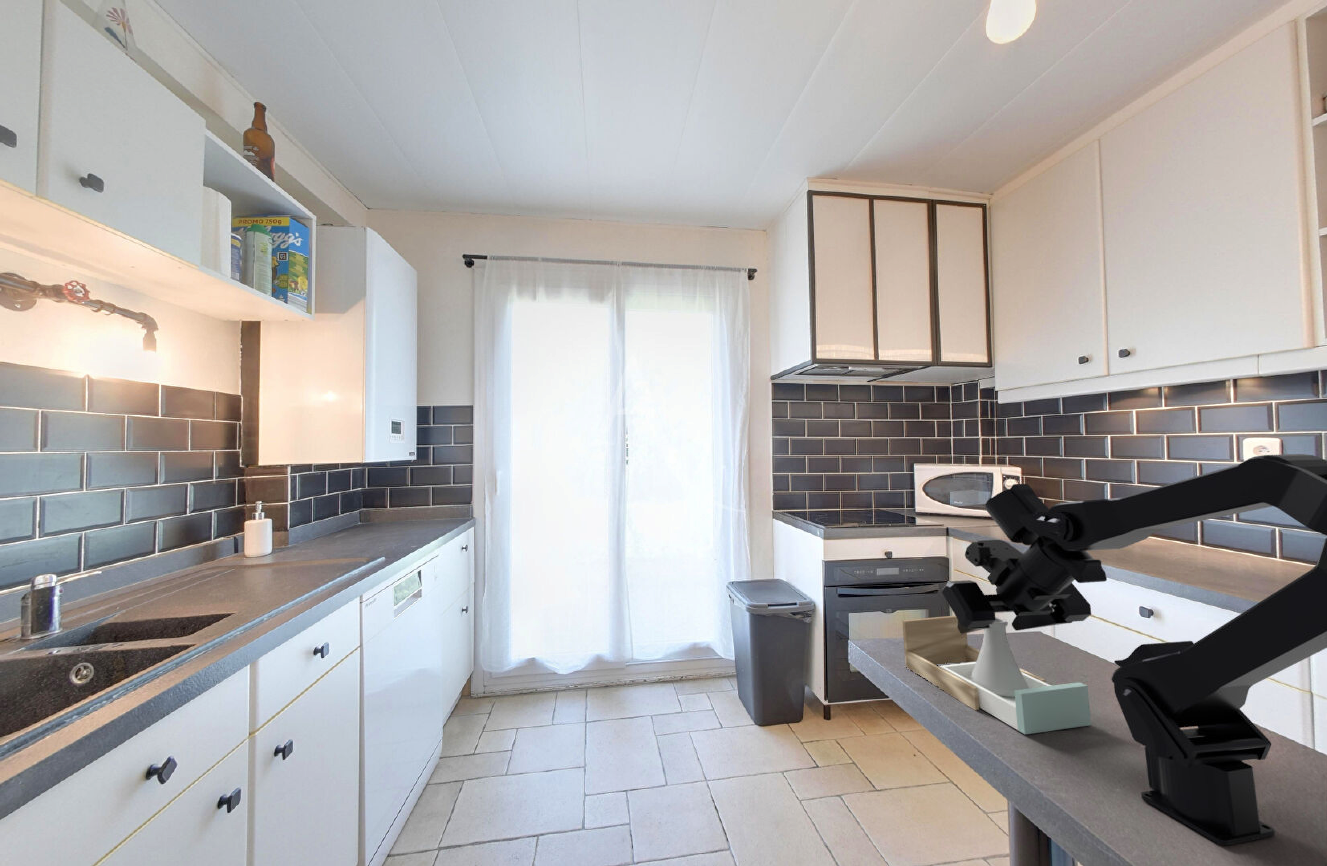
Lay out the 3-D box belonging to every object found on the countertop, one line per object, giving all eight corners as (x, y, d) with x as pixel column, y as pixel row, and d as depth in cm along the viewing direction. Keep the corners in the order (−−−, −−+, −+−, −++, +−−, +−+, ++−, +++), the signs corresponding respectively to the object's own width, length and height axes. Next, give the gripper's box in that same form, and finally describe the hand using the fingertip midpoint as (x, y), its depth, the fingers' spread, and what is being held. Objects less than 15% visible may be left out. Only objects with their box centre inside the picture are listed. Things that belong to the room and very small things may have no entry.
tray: (1091, 725, 62) (1087, 685, 62) (1024, 734, 60) (1021, 693, 60) (995, 677, 76) (993, 645, 76) (940, 684, 74) (937, 651, 75)
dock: (1047, 701, 68) (1041, 644, 69) (975, 710, 66) (970, 652, 67) (966, 661, 83) (962, 614, 84) (905, 667, 81) (902, 620, 82)
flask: (991, 699, 67) (985, 628, 68) (961, 677, 74) (955, 612, 75) (1043, 699, 67) (1036, 627, 67) (1007, 676, 74) (1002, 612, 75)
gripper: (1063, 521, 69) (1010, 580, 80) (945, 526, 68) (905, 585, 78) (1125, 588, 61) (1057, 645, 71) (991, 596, 60) (940, 652, 70)
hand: (987, 629), depth 73 cm, fingers open, 9 cm apart
